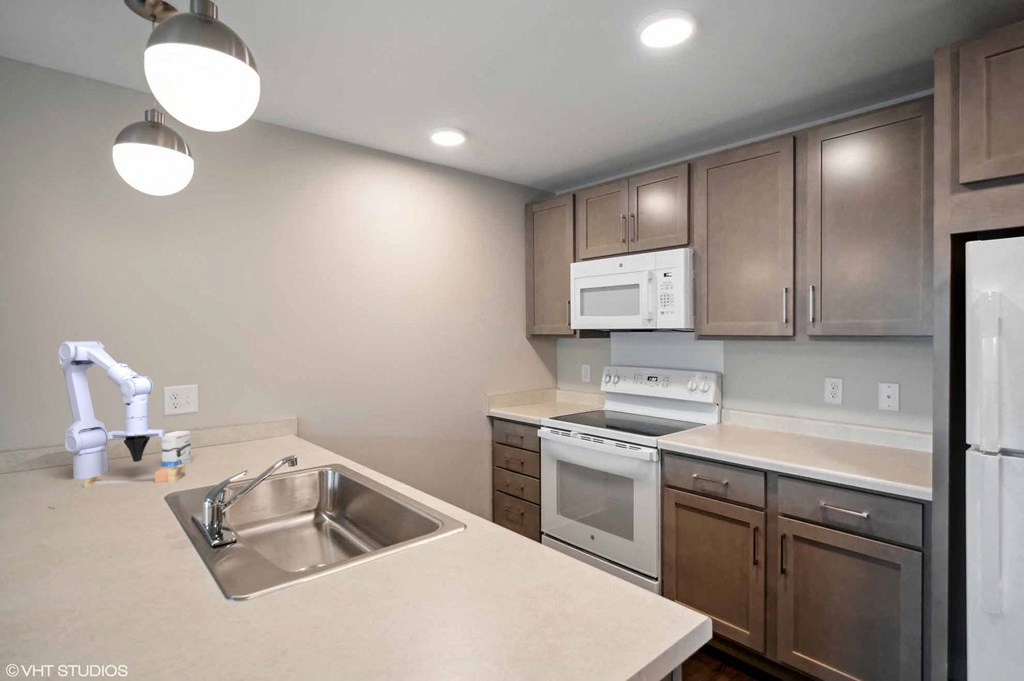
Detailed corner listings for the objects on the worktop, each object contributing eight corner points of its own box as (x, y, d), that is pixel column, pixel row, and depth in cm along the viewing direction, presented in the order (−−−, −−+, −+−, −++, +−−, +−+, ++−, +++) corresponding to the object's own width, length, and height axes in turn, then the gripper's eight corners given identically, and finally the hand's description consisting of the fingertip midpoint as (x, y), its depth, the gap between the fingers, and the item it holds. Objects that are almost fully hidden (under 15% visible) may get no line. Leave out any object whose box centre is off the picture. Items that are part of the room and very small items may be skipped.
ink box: (175, 469, 173) (175, 435, 173) (161, 469, 173) (160, 435, 173) (191, 463, 181) (191, 430, 181) (177, 463, 182) (177, 430, 181)
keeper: (162, 477, 160) (161, 468, 160) (176, 477, 161) (176, 467, 160) (154, 482, 155) (154, 472, 155) (169, 481, 156) (169, 472, 156)
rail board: (98, 484, 157) (97, 469, 157) (184, 479, 162) (184, 465, 162) (84, 491, 150) (84, 476, 150) (175, 485, 155) (175, 471, 155)
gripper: (102, 419, 150) (102, 465, 151) (157, 418, 153) (158, 463, 154) (115, 415, 157) (115, 459, 157) (167, 414, 160) (168, 457, 161)
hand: (137, 460), depth 156 cm, fingers closed
